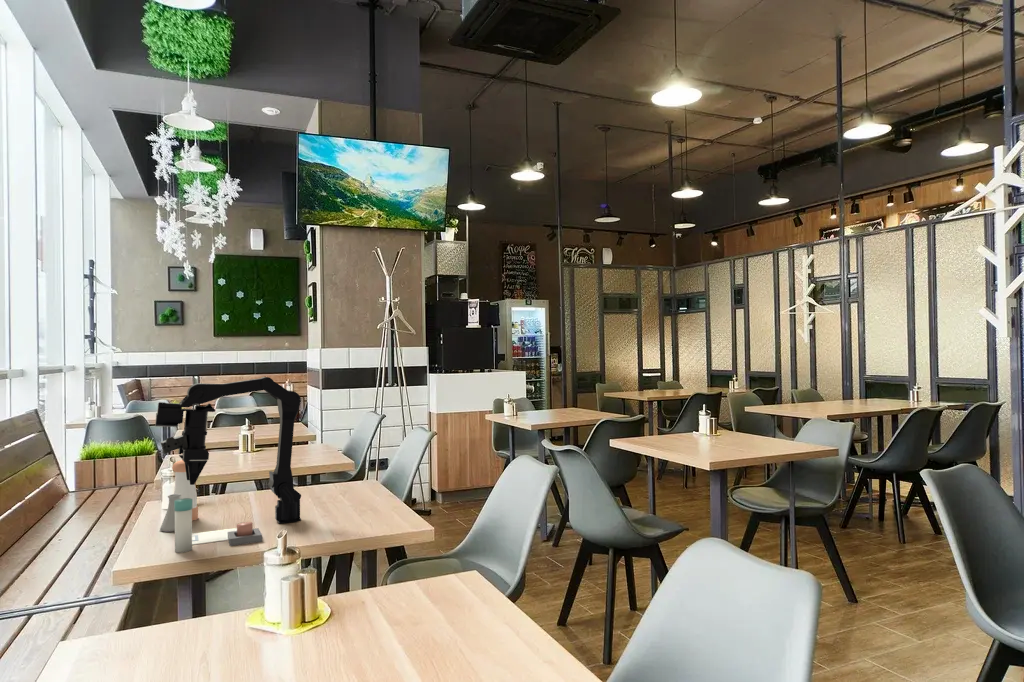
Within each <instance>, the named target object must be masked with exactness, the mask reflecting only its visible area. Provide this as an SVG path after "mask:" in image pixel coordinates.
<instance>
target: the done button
mask: <svg viewBox="0 0 1024 682" xmlns="http://www.w3.org/2000/svg"><path fill="white" fill-rule="evenodd" d="M236 528H237V536H238V537H239V536H246V535H252V534H253V529H254V528H253V522H252V521H244V522H243V521H242V522H240V523H236Z"/></svg>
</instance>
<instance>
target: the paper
mask: <svg viewBox="0 0 1024 682" xmlns="http://www.w3.org/2000/svg"><path fill="white" fill-rule="evenodd" d="M231 531H237V527H235V528H226V529H217V530H211V531H202V532H192V546H196V545H204V544H209V543H210V544H211V543H218V542H226V541H228V532H231Z"/></svg>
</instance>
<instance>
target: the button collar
mask: <svg viewBox="0 0 1024 682" xmlns="http://www.w3.org/2000/svg"><path fill="white" fill-rule="evenodd" d="M227 541H228V544H229V546H230V547H231V546H239V545H246V544H254V543H262V542H263V534H262V532H261V530H260V529H259V527H258V528H257V527H256V528H255V527H254V528H253V534H252V535H246V536H239V537H238V536H237V531H231V532H228V540H227Z"/></svg>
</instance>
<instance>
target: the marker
mask: <svg viewBox="0 0 1024 682" xmlns="http://www.w3.org/2000/svg"><path fill="white" fill-rule="evenodd" d="M174 510H175V531H174V553H179V554H180V553H188V552H190V551H192V550H193V545H192V533H193V521H192V499H191V498H183V499H177V500H175V501H174Z"/></svg>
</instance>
